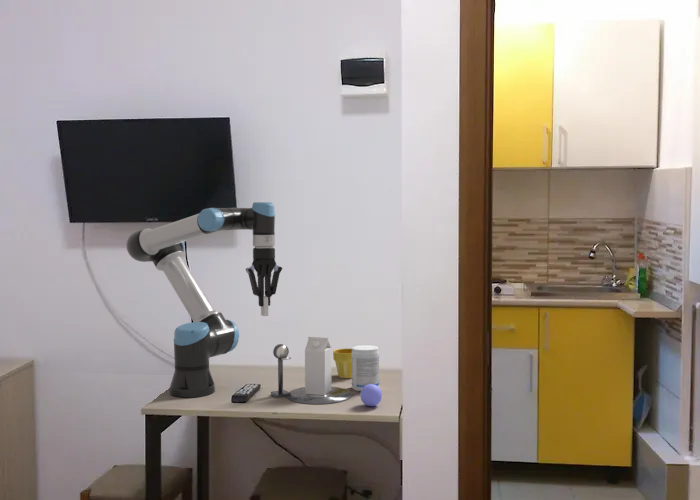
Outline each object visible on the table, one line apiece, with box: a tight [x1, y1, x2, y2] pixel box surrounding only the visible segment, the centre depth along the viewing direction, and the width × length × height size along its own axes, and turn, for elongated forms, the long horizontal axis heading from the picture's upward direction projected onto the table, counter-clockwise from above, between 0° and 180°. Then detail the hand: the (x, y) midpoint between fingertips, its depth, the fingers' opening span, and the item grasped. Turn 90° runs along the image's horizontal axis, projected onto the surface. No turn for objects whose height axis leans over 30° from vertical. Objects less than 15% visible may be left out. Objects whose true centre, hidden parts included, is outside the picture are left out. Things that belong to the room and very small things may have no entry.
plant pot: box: [332, 347, 352, 379], centre depth 271 cm, size 10×10×10 cm
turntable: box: [286, 385, 353, 405], centre depth 245 cm, size 22×22×1 cm
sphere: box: [359, 384, 383, 407], centre depth 232 cm, size 7×7×7 cm
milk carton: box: [304, 336, 332, 395], centre depth 246 cm, size 7×7×19 cm
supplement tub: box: [351, 344, 380, 392], centre depth 253 cm, size 10×10×15 cm
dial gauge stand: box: [270, 343, 292, 399], centre depth 244 cm, size 5×6×18 cm
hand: (264, 315), depth 249 cm, fingers closed
